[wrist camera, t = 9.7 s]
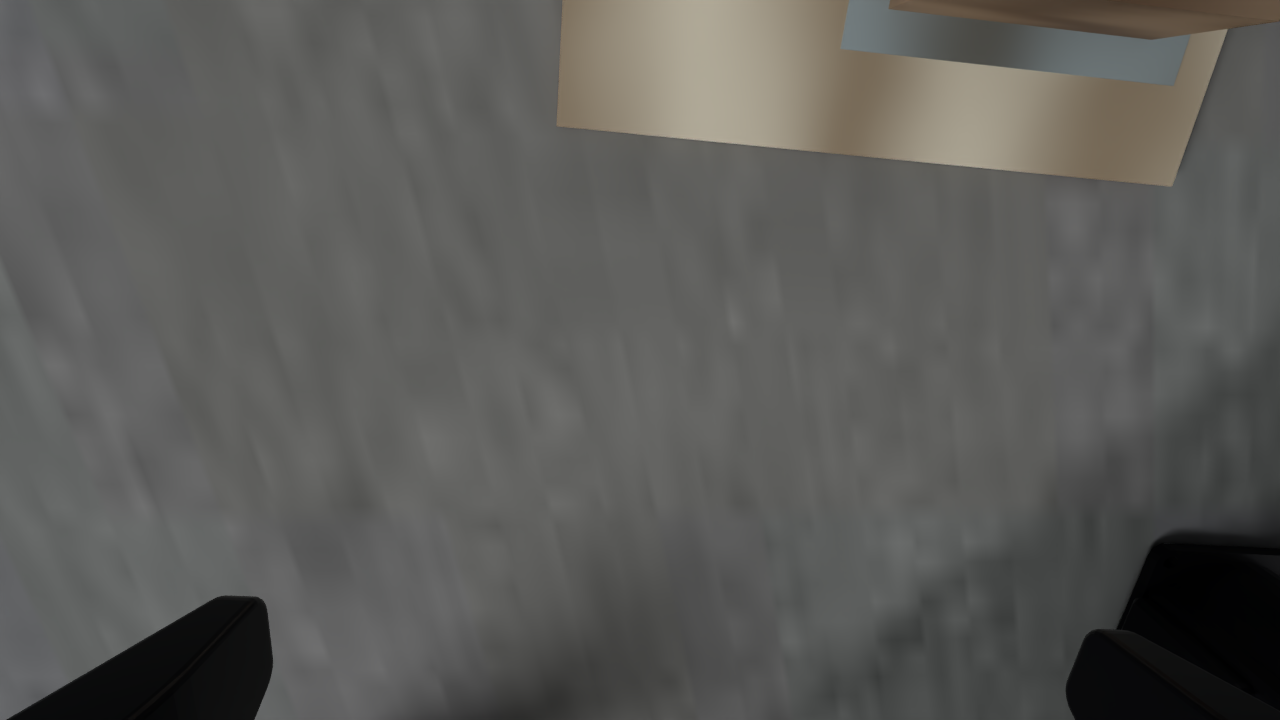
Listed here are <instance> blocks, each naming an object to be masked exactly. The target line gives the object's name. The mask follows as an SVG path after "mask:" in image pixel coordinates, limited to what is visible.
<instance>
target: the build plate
mask: <svg viewBox="0 0 1280 720" xmlns="http://www.w3.org/2000/svg"><path fill="white" fill-rule="evenodd" d="M889 3H890V0H563V5H562V26H561V47H560V67H559V88H558V109H557V126H560V127H570V128H580V129H590V130H600V131H610V132H621V133H631V134H641V135H651V136H661V137H672V138H682V139H692V140H702V141H712V142H722V143H733V144H743V145H753V146H763V147H773V148H784V149H794V150H804V151H814V152H824V153H834V154H845V155H855V156H865V157H875V158H885V159H896V160H906V161H916V162H926V163H936V164H946V165H957V166H967V167H977V168H987V169H997V170H1008V171H1018V172H1028V173H1038V174H1048V175H1058V176H1069V177H1079V178H1089V179H1099V180H1109V181H1120V182H1130V183H1140V184H1150V185H1160V186H1170V187H1172V185H1173V183H1174V180H1175V177H1176V174H1177V171H1178V168H1179V166H1180V163H1181V160H1182V157H1183V154H1184V151H1185V149H1186V146H1187V143H1188V140H1189V137H1190V135H1191V132H1192V129H1193V126H1194V123H1195V120H1196V118H1197V115H1198V112H1199V109H1200V106H1201V104H1202V101H1203V98H1204V95H1205V92H1206V89H1207V87H1208V84H1209V81H1210V78H1211V75H1212V72H1213V70H1214V67H1215V64H1216V61H1217V58H1218V56H1219V53H1220V50H1221V47H1222V44H1223V41H1224V39H1225V36H1226V33H1227V30H1228V29H1223V30H1216V31H1209V32H1202V33H1196V34H1189V35H1182V36H1175V37H1168V38H1161V39H1154V40H1148V39H1140V38H1131V37H1123V36H1114V35H1105V34H1097V33H1088V32H1080V31H1071V30H1063V29H1054V28H1046V27H1037V26H1029V25H1020V24H1011V23H1003V22H994V21H986V20H977V19H969V18H960V17H952V16H943V15H935V14H926V13H917V12H909V11H900V10H892V9H888V8H889Z"/></svg>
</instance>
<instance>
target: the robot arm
mask: <svg viewBox="0 0 1280 720" xmlns="http://www.w3.org/2000/svg"><path fill="white" fill-rule="evenodd" d="M272 668H273V655H272V646H271V638H270V629H269V621H268V613H267V608H266V604H265V603H264V601H263V600H262V599H260V598H258V597H251V596H220V597H217V598H215V599H213V600H211V601H209V602H207V603H206V604H204V605H202V606H200V607H199V608H197V609H195V610H194V611H192V612H190V613H188V614H187V615H185V616H183V617H182V618H180V619H178V620H176V621H175V622H173V623H171V624H170V625H168V626H166V627H164V628H163V629H161V630H159V631H158V632H156V633H154V634H152V635H151V636H149V637H147V638H146V639H144V640H142V641H140V642H139V643H137V644H135V645H134V646H132V647H130V648H128V649H127V650H125V651H123V652H122V653H120V654H118V655H116V656H115V657H113V658H111V659H110V660H108V661H106V662H104V663H103V664H101V665H99V666H98V667H96V668H94V669H92V670H91V671H89V672H87V673H86V674H84V675H82V676H80V677H79V678H77V679H75V680H74V681H72V682H70V683H68V684H67V685H65V686H63V687H62V688H60V689H58V690H56V691H55V692H53V693H51V694H50V695H48V696H46V697H44V698H43V699H41V700H39V701H38V702H36V703H34V704H32V705H31V706H29V707H27V708H26V709H24V710H22V711H21V712H19V713H17V714H15V715H14V716H12V717H10V718H9V719H7V720H254V719H255V717H256V714H257V712H258V709H259V707H260V704H261V702H262V700H263V697H264V695H265V692H266V690H267V687H268V684H269V682H270V678H271V674H272ZM1066 698H1067V702H1068V705H1069V708H1070V710H1071V712H1072V714H1073V716H1074V718H1075V720H1280V549H1266V548H1246V547H1227V546H1207V545H1187V544H1160V545H1158V546H1156V547H1155V548H1153V549H1152V550H1151V552H1150V553H1149V555H1148V557H1147V559H1146V562H1145V564H1144V566H1143V569H1142V571H1141V574H1140V576H1139V578H1138V581H1137V583H1136V586H1135V588H1134V590H1133V593H1132V595H1131V597H1130V600H1129V602H1128V605H1127V607H1126V609H1125V612H1124V614H1123V617H1122V619H1121V621H1120V624H1119V626H1118V629H1117V630H1111V629H1096V630H1092V631H1091V632H1089V633H1088V634H1087V635H1086V636H1085V638H1084V640H1083V642H1082V645H1081V647H1080V650H1079V652H1078V655H1077V657H1076V660H1075V662H1074V665H1073V667H1072V670H1071V672H1070V675H1069V677H1068V680H1067V683H1066Z"/></svg>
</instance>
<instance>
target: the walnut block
mask: <svg viewBox="0 0 1280 720" xmlns="http://www.w3.org/2000/svg"><path fill="white" fill-rule="evenodd" d="M888 9H892V10H900V11H909V12H917V13H926V14H935V15H943V16H952V17H960V18H969V19H977V20H986V21H994V22H1003V23H1011V24H1020V25H1029V26H1037V27H1046V28H1054V29H1063V30H1071V31H1080V32H1088V33H1097V34H1105V35H1114V36H1123V37H1131V38H1140V39H1148V40H1154V39H1161V38H1168V37H1175V36H1182V35H1189V34H1196V33H1202V32H1209V31H1216V30H1223V29H1230V28H1237V27H1244V26H1251V25H1258V24H1264V23H1271V22H1278V21H1279V20H1280V0H890V3H889V8H888Z"/></svg>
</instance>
